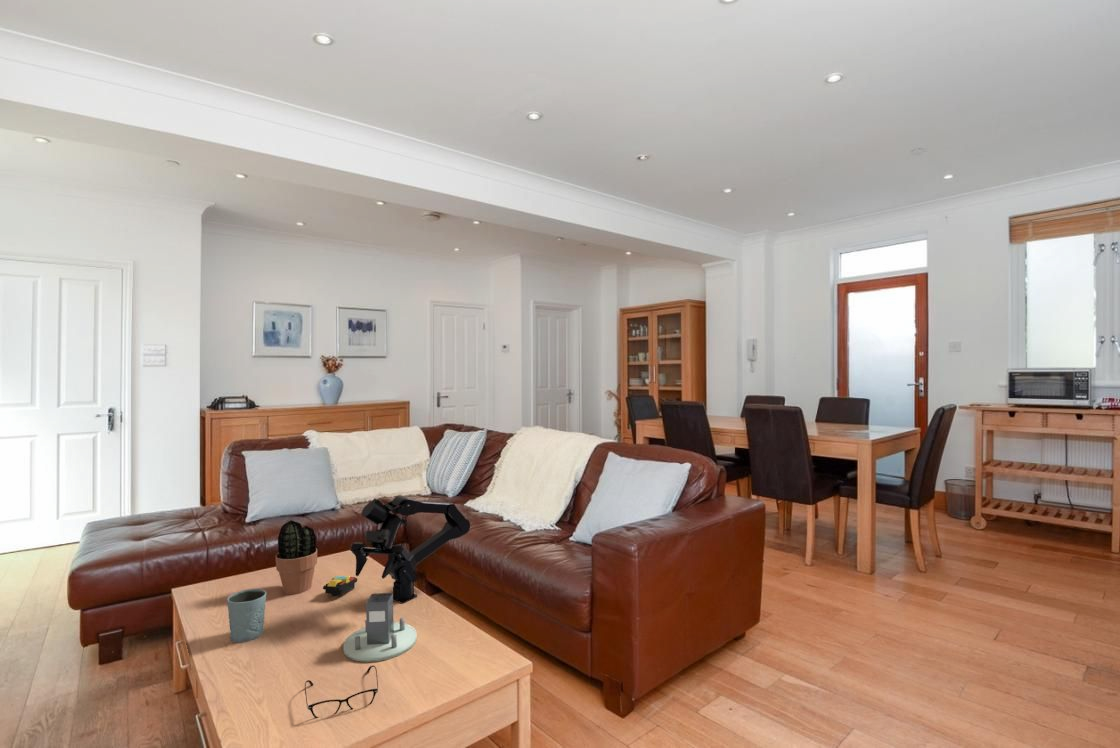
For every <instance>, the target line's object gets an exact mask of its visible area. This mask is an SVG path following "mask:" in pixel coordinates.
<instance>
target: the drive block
mask: <svg viewBox="0 0 1120 748" xmlns="http://www.w3.org/2000/svg"><path fill="white" fill-rule="evenodd" d="M365 611H366V612H365V613H366V614H365V615H366V617H365V618H366V619H365V620H367V645H371V644H389V642H390V640H391V636H392V635H393V634H394V622H395V621H394V620H395V619H394V600H393V592H383V593H382V592H381V593H379V592H378V593H371V595H370V596H369V597H368V599H367V600H366V603H365Z"/></svg>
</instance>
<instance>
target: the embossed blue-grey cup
mask: <svg viewBox="0 0 1120 748" xmlns="http://www.w3.org/2000/svg"><path fill="white" fill-rule="evenodd" d="M266 601H267V591H266V590H264V589H261V588H252V589H251V588H250V589H243V590H240V591H237V592H234V593H232V594H230V595H229V596H228V597H227V599H226V602H227V611H228V623H229V625H228V627H229V631H230V634H229V635H230V636H229V637H230V640H231V641H232V642H234V643H245V642H249V641H253V640H255V639H258V638H259V637H261V636H262V635H263V634H264V630H265V629H264V627H265V626H264V625H265V610H266Z"/></svg>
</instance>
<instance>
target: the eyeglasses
mask: <svg viewBox="0 0 1120 748" xmlns="http://www.w3.org/2000/svg"><path fill="white" fill-rule="evenodd" d="M372 668H374V669H375V675H376V686H377V688H371V689H366V690H362V691H360V692H357V693H354V694H352V695H350V696H348V697H346V698H344V699H337V698H336V699H327V700H322V701H317V702H314V703H312V704H309V705H308V697H307V696H308V695H307V688H306V687H307V686H306V685H307V683H309V685H310V686H311V687H313V686H314V682H312V680H310V679H309V680H306V681H305V683H304V694H305V701H306V708H307V709H308V710H310V711H309V712H310V713H311V714H312V716H313V717H314V718H315V719H318V718H320V716H316V714H315V712H314V707H315V706H317V705H321V704H325V703H331V702H338V707H337V709H336V711H335V712H334V715H335V714H337V713H338V711H339V710H340V709H341V706H342V703H345V702H346V706H347V707H349V709H350V710H354V708H353V707H352V706H351V705H350V703H349V700H351V698H354V697H357V696H359V695H361V694H366V693H371V692H373V693H372V694H373V695H372V697H371V701H370V702H369V703H368V706H369V705H371V704H372V703H373V701H374V699H375V697H376V694H377V693H378V692H379V681H378V672H377V671H378V670H377V667H376V666H375V665H370V666H369V667H368V669H367V670H366V673H367V674H369V673H370V672H371V669H372Z"/></svg>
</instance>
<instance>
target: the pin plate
mask: <svg viewBox="0 0 1120 748" xmlns="http://www.w3.org/2000/svg"><path fill="white" fill-rule="evenodd" d="M364 622H365V624H364V625H365V627H363V628H362V627H361V628H360V629H358V630H356V631H354V632H352V633H351V634H350V635H349V636H348V637H347V638H346V639H345V640H344V642H343V654H344V655H345V656H346V657H347V658H348V659H350V660H353V661H355V662H361V663H374V662H381V661H382V662H383V661H386V660H390V659H393V658H396V657H398V656H401V655H404V653H406V652H408V651H409V650H411V648H413V646H414V645H415V644H416V642H417V637H418V636H417V630H416V629H415V628H414V626H411V625H409V624H408V623H405V622H406V621H405V617H400V618H399V622H398V621H397V622H395V621H394V634H393V635H392V636H391V640H390V642H389V644H371V645H367V620H366V619H365V621H364Z"/></svg>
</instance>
